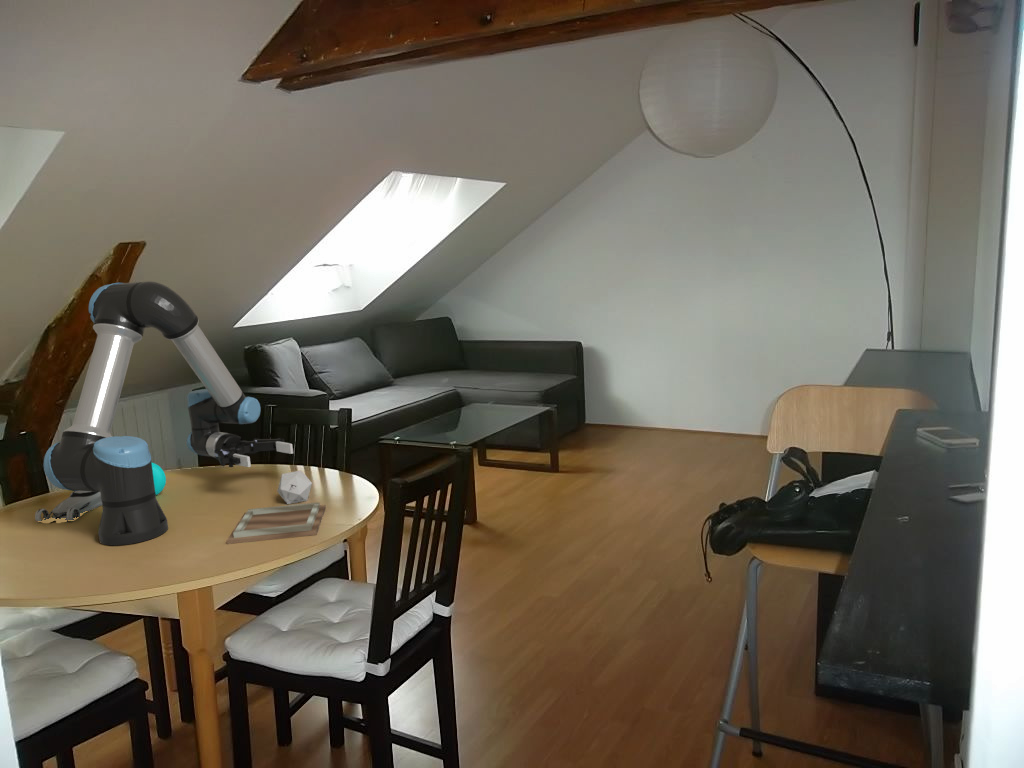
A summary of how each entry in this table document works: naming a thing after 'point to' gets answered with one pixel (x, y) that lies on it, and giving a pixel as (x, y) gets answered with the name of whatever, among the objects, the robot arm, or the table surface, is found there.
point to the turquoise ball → (158, 478)
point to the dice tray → (278, 522)
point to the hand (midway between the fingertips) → (270, 455)
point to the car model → (73, 506)
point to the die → (294, 487)
